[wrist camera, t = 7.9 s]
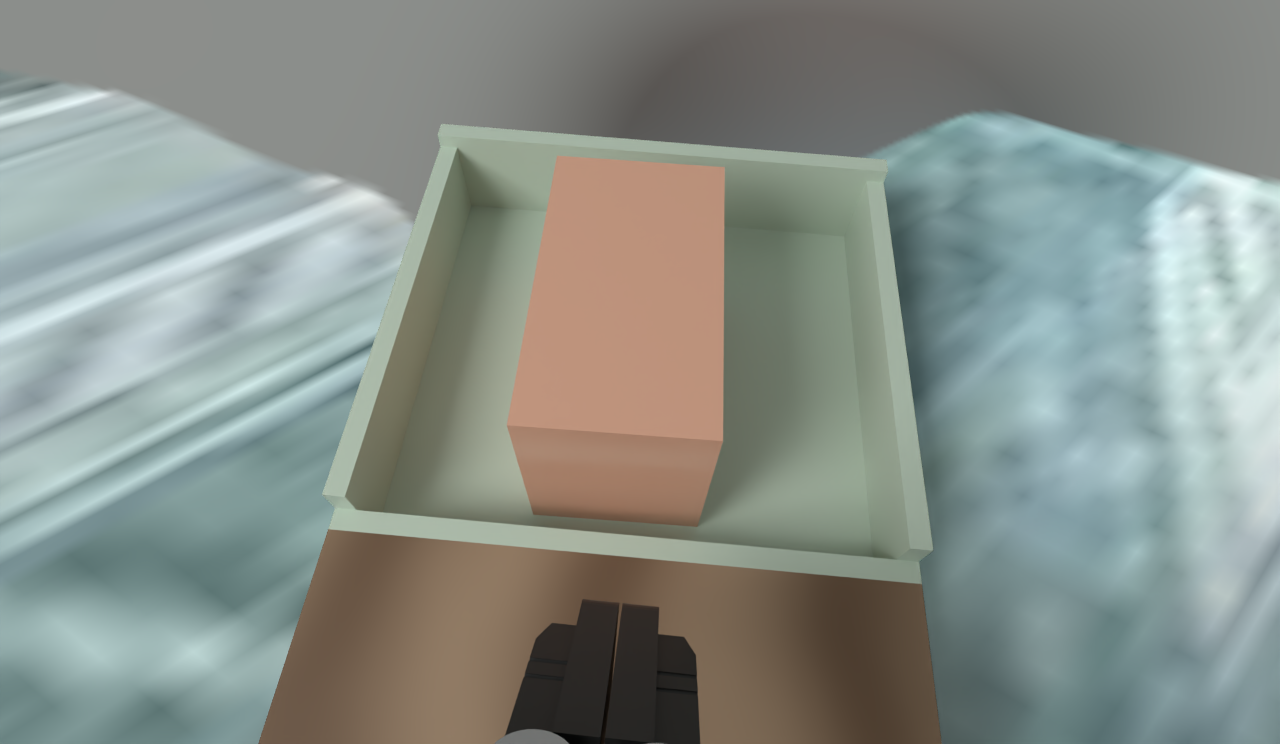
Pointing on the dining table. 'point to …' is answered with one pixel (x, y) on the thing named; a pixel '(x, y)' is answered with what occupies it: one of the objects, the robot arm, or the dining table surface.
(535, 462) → the salmon-coloured block
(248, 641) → the dining table surface
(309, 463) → the dining table surface
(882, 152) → the dining table surface
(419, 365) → the tray
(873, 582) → the board
